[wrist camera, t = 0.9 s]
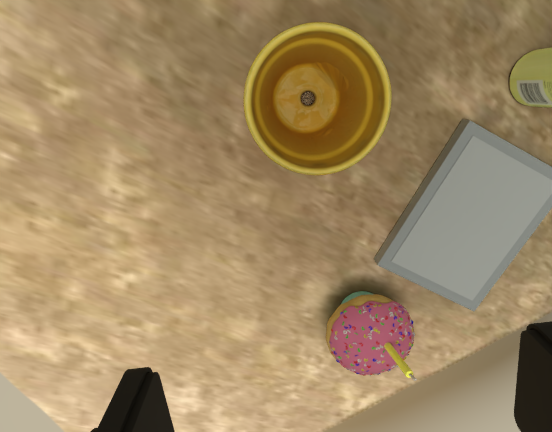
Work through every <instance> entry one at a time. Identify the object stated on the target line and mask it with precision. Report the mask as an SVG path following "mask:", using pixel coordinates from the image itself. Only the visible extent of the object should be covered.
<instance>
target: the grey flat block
mask: <svg viewBox="0 0 552 432" xmlns="http://www.w3.org/2000/svg"><path fill="white" fill-rule="evenodd" d="M551 208H552V167H551V166H549V165H547V164H545V163H544V162H542V161H540V160H538V159H537V158H535V157H533V156H531V155H530V154H528V153H526V152H524V151H523V150H521V149H519V148H517V147H516V146H514V145H512V144H510V143H509V142H507V141H505V140H503V139H502V138H500V137H498V136H496V135H495V134H493V133H491V132H489V131H488V130H486V129H484V128H482V127H481V126H479V125H477V124H475V123H473V122H472V121H470V120H465V119H462V121H461V122H460V124H459V125H458V127H457V129H456V130H455V132H454V133H453V135H452V136H451V138H450V140H449V141H448V143H447V144H446V146H445V147H444V149H443V151H442V152H441V154H440V155H439V157H438V158H437V160H436V162H435V163H434V165H433V166H432V168H431V169H430V171H429V173H428V174H427V176H426V177H425V179H424V180H423V182H422V184H421V185H420V187H419V188H418V190H417V192H416V193H415V195H414V196H413V198H412V199H411V201H410V203H409V204H408V206H407V207H406V209H405V210H404V212H403V214H402V215H401V217H400V218H399V220H398V221H397V223H396V225H395V226H394V228H393V229H392V231H391V232H390V234H389V236H388V237H387V239H386V240H385V242H384V243H383V245H382V247H381V248H380V250H379V251H378V253H377V254H376V256H375V258H374V260H375V262H376V264H377V265H378V266H380V267H382V268H384V269H387V270H389V271H391V272H393V273H395V274H397V275H399V276H401V277H403V278H405V279H407V280H409V281H412V282H414V283H416V284H418V285H420V286H422V287H424V288H426V289H428V290H430V291H432V292H434V293H437V294H439V295H441V296H443V297H445V298H447V299H449V300H451V301H453V302H455V303H457V304H460V305H462V306H464V307H466V308H468V309H470V310H472V311H475V310H476V308H477V307H478V306H479V304H480V303H481V302H482V300H483V299H484V298H485V296H486V295H487V294H488V292H489V291H490V290H491V288H492V287H493V286H494V284H495V283H496V282H497V280H498V279H499V278H500V276H501V275H502V274H503V272H504V271H505V270H506V268H507V267H508V266H509V264H510V263H511V262H512V260H513V259H514V258H515V256H516V255H517V254H518V252H519V251H520V250H521V248H522V247H523V246H524V244H525V243H526V242H527V240H528V239H529V238H530V236H531V235H532V234H533V232H534V231H535V230H536V228H537V227H538V226H539V224H540V223H541V222H542V220H543V219H544V218H545V216H546V215H547V214H548V212H549V211H550V210H551Z"/></svg>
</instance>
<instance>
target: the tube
mask: <svg viewBox="0 0 552 432" xmlns="http://www.w3.org/2000/svg"><path fill="white" fill-rule="evenodd" d="M510 90H511V93H512V95H513V96H514V98H515V99H516V100H517V101H518V102H520V103H521V104H523V105H527V106H535V107H550V108H552V48H544V49H537V50H534V51H531V52H529V53H527V54H525V55H524V56H523V57H522V58H521V59H520V60H519V61H518V62H517V63H516V64H515V66H514V68H513V70H512V72H511V76H510Z"/></svg>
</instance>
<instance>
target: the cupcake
mask: <svg viewBox="0 0 552 432" xmlns="http://www.w3.org/2000/svg"><path fill="white" fill-rule="evenodd" d="M412 324H413V321H412V320H411V318H410V316H409V314H408V312H407V310H406V309H405V308H404V307H403V306H402V305H401V304H399V303H397V302H395V301H393V300H391V299H389V298H387V297H385V296H382V295H378V294H373V293H370V292H366V291H359V292H355V293H352V294H350V295H349V296H347V297H346V298H345V299H344V300H343V301H342V303H341V305H340V306H339V307H338V308H337V309H336V311H335V312H334V313H333V315H332V316H331V317H330V319H329V320H328V323H327V331H326V341H327V345H328V347H329V350H330V352H331V354H332V355H333V356H334V358H335V359H336V361H337V362H339V363H340V364H341V365H342V366H343V367H345V368H346V369H347V370H350V371H352V372H355V373H357V374H360V375H370V376H371V375H376V374H377V375H379V374H380V373H382V372H385V371H388V372H389V371H390V370H391V369H392V368H394V367H398V366H399V368H400V369H401V370H402V372H403V373H404V374H405V376H406V377H408V378H410V377H412V379H413V380H415V381H416V380H417V379H416V378H415V377H414V376H413V372H412V371H411V369H410V368H409V367H408V365H407V364H406V363H405V362H404V360H405V359H406V356H408V355H409V354H408V353H409V352H410V349H411V347H412V346H413V341H414V336H415V333H414V329H413V325H412ZM404 358H405V359H404ZM397 365H398V366H397Z"/></svg>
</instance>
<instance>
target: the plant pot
mask: <svg viewBox="0 0 552 432" xmlns="http://www.w3.org/2000/svg"><path fill="white" fill-rule="evenodd" d="M306 91H309V92H311V93H313V95H314V97H315V100H314V102H313V103H312V104H311V105H304V104H303V103H302V101H301V95H302V94H303V93H304V92H306ZM390 109H391V85H390V80H389V76H388V73H387V70H386V67H385V65H384V63H383V61H382V59H381V57H380V56H379V54H378V53H377V51H376V50H375V49H374V48H373V47H372V45H371V44H370V43H369V42H368V41H367V40H366V39H364V38H363V37H362V36H360V35H359V34H357V33H356V32H354V31H352V30H350V29H348V28H346V27H343V26H340V25H337V24H332V23H326V22H312V23H305V24H301V25H298V26H295V27H292V28H289V29H287V30H285V31H283V32H282V33H280V34H279V35H277V36H276V37H274V38H273V39H272V40H271V41H270V42H269V43H267V45H266V46H265V47H264V48H263V49H262V50H261V51H260V53H259V54H258V55H257V57H256V59H255V60H254V62H253V64H252V66H251V68H250V70H249V73H248V76H247V79H246V83H245V88H244V112H245V118H246V122H247V125H248V128H249V130H250V133H251V135H252V137H253V139H254V140H255V142H256V143H257V145H258V146H259V148H260V149H261V150H262V151H263V152H264V153H265V154H266V155H267V156H268V157H269V158H270V159H271V160H273V161H274V162H276V163H277V164H279V165H280V166H282V167H284V168H286V169H288V170H291V171H294V172H297V173H301V174H307V175H326V174H332V173H336V172H339V171H342V170H344V169H347V168H349V167H351V166H352V165H354V164H356V163H357V162H359V161H360V160H361V159H362V158H364V157H365V156H366V155H367V154H368V153H369V152H370V151H371V150H372V148H373V147H374V146H375V145H376V143H377V142H378V140H379V139H380V137H381V135H382V134H383V132H384V129H385V127H386V125H387V122H388V118H389V114H390Z"/></svg>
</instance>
